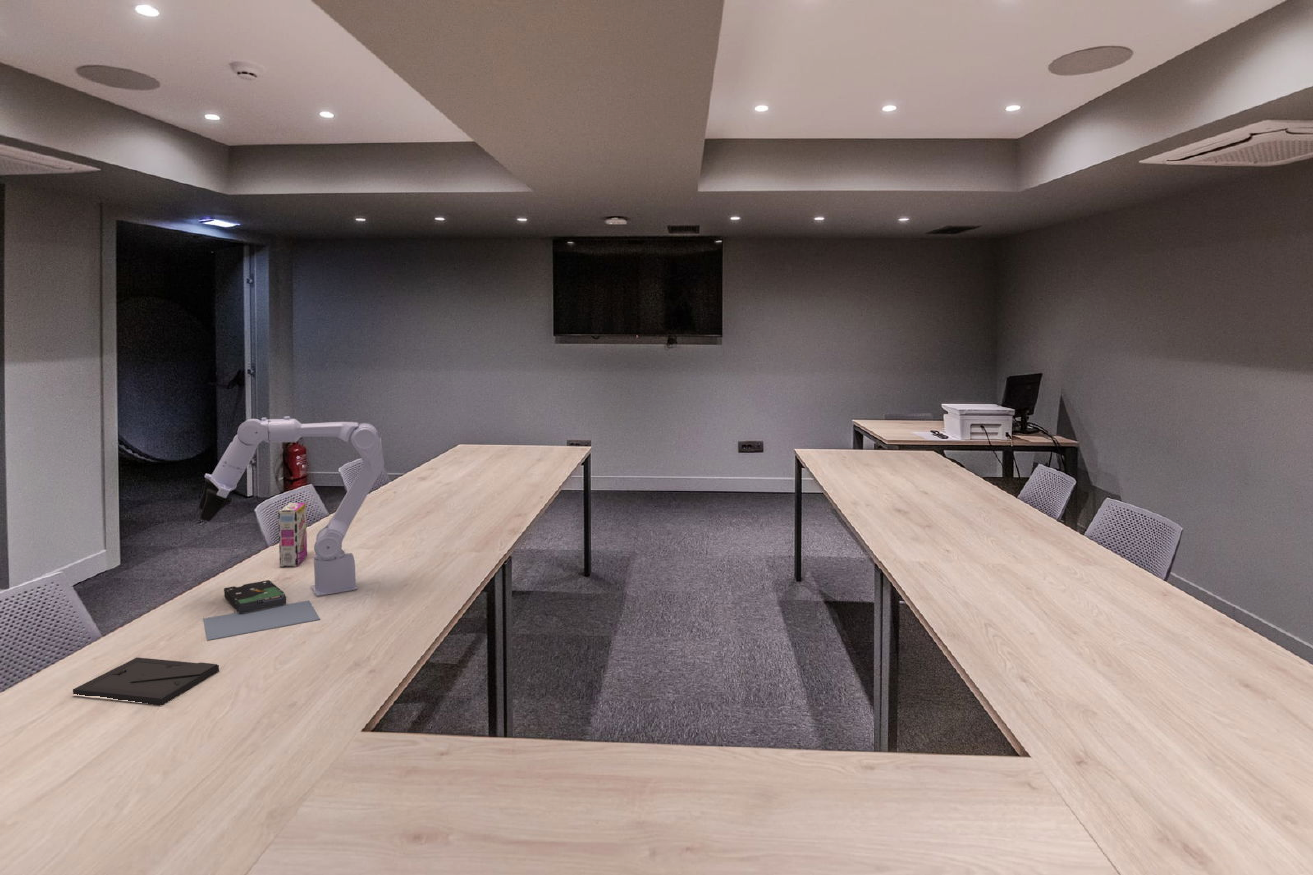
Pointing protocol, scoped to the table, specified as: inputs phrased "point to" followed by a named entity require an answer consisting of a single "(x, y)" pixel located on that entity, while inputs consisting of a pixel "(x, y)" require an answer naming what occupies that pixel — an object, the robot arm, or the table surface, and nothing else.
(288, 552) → the candy bar box
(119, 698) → the picture frame
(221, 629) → the mat
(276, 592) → the disk drive
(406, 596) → the table surface
